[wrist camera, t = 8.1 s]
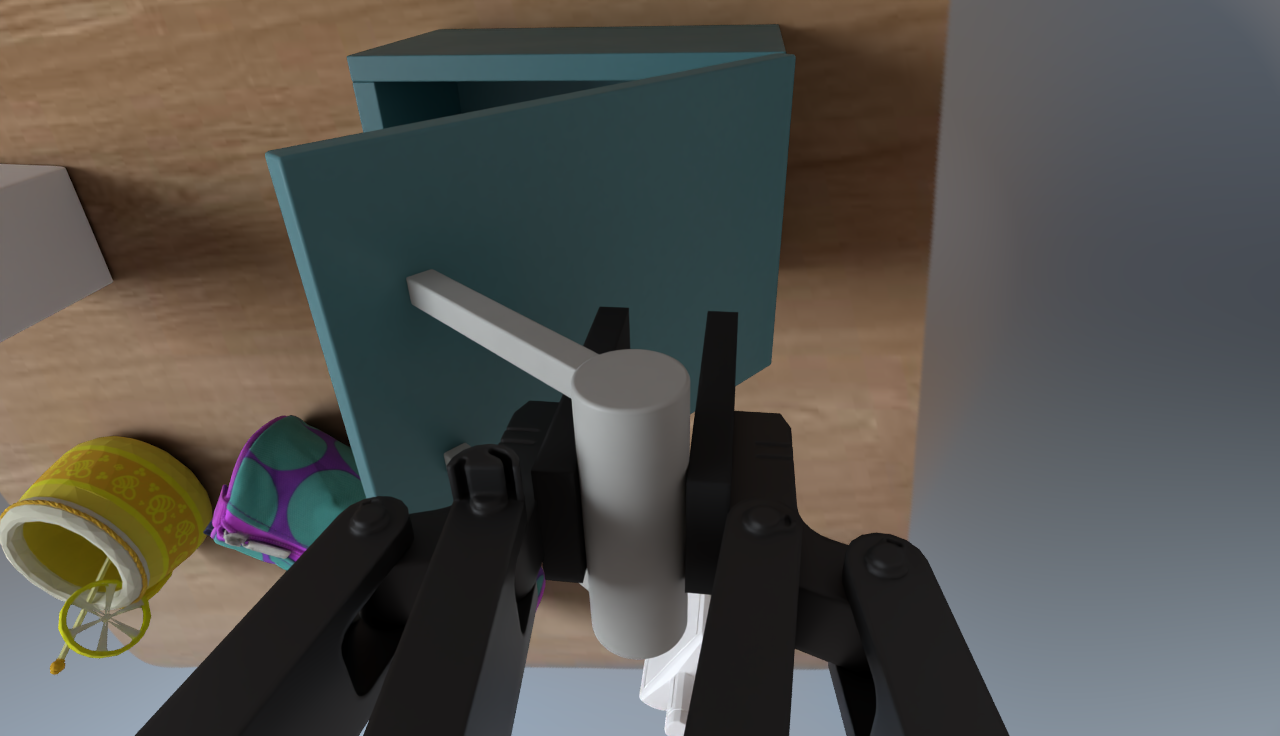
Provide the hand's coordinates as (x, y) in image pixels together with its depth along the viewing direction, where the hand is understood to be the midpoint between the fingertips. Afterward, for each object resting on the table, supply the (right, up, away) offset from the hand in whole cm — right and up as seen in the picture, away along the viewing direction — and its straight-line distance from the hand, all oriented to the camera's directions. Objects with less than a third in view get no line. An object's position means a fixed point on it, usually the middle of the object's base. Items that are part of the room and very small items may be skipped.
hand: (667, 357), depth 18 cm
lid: (-2, +2, +3) cm, 4 cm away
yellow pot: (-37, -10, +35) cm, 52 cm away
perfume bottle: (+3, -14, +31) cm, 34 cm away
